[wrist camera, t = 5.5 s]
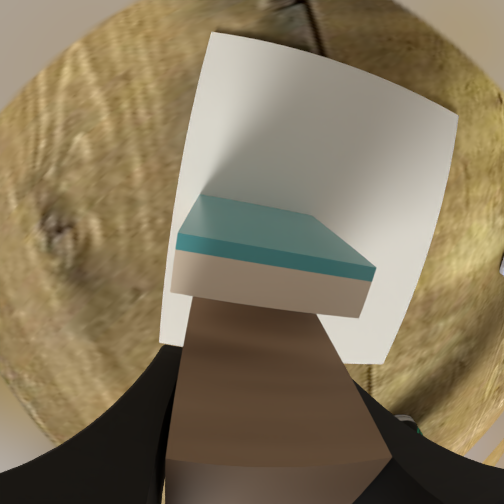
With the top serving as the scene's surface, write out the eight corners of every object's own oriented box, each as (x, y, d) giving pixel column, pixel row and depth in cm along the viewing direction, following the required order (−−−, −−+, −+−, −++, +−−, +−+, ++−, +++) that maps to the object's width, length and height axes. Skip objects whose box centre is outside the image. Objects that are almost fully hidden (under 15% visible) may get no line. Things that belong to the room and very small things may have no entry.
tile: (311, 215, 14) (376, 267, 8) (303, 247, 14) (358, 318, 8) (199, 193, 13) (177, 232, 7) (193, 227, 14) (170, 292, 7)
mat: (454, 115, 13) (458, 115, 13) (380, 360, 17) (382, 364, 17) (211, 34, 11) (211, 31, 11) (160, 338, 16) (159, 342, 15)
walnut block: (281, 384, 12) (319, 534, 6) (183, 373, 12) (166, 534, 5) (308, 299, 11) (392, 456, 4) (195, 282, 11) (165, 458, 4)
